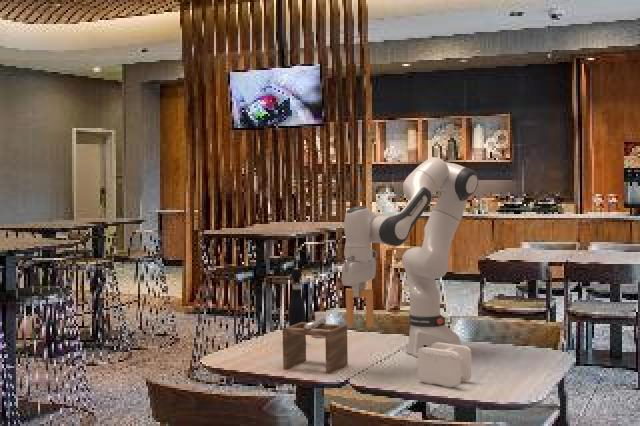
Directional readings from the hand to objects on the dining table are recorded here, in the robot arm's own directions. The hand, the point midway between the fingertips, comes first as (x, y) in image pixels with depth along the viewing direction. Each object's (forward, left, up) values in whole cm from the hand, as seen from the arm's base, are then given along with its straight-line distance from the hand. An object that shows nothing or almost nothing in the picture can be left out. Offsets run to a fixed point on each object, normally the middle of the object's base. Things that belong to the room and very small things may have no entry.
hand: (359, 295), depth 278 cm
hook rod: (+17, 0, -12) cm, 21 cm away
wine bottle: (+40, -29, -26) cm, 56 cm away
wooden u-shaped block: (0, 0, -10) cm, 10 cm away
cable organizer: (-31, +3, -26) cm, 41 cm away
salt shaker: (+40, -49, -26) cm, 68 cm away
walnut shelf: (+17, 0, -26) cm, 31 cm away
